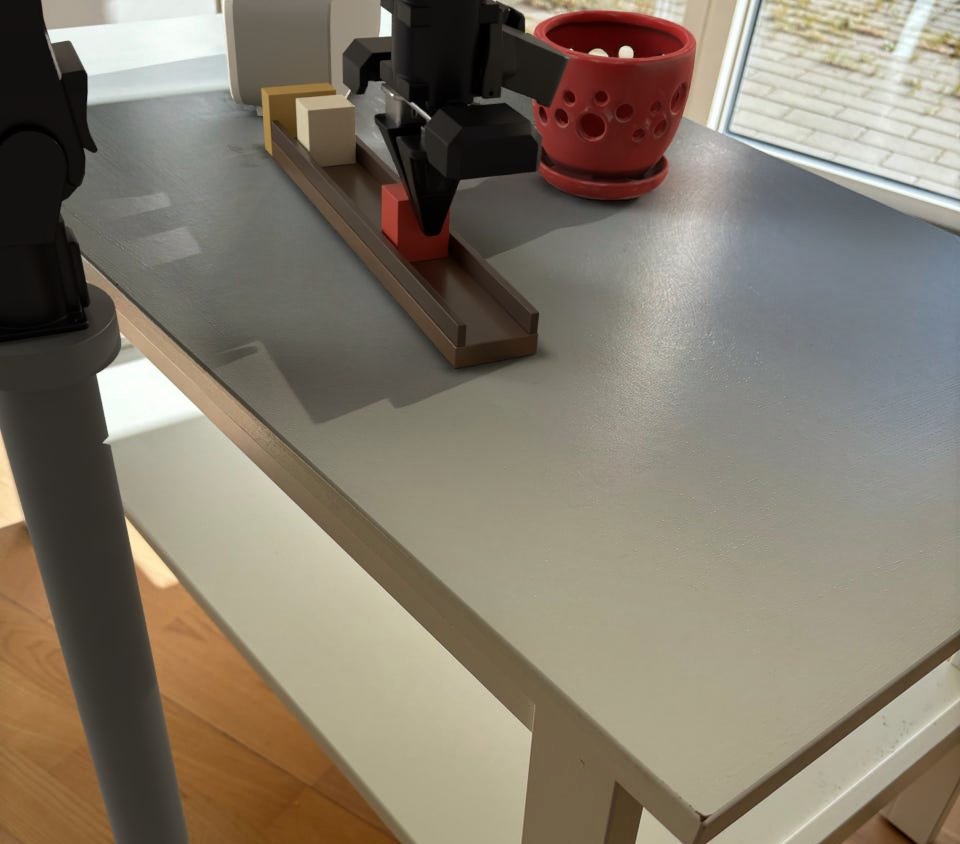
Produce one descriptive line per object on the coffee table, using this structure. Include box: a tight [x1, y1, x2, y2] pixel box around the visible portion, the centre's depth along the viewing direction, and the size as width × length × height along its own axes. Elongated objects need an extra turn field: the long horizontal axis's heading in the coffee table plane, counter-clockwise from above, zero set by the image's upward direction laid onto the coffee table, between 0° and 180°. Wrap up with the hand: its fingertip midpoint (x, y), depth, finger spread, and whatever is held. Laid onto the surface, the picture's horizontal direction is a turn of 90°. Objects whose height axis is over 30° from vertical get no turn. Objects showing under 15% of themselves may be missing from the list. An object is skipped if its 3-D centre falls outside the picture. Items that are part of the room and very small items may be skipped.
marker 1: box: [296, 95, 356, 167], centre depth 89 cm, size 4×3×4 cm
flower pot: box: [531, 9, 697, 201], centre depth 91 cm, size 13×13×12 cm
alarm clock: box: [222, 0, 382, 117], centre depth 105 cm, size 27×9×12 cm, turn 174°
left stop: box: [261, 83, 336, 158], centre depth 94 cm, size 6×2×5 cm, turn 116°
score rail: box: [271, 120, 540, 369], centre depth 82 cm, size 6×38×3 cm, turn 26°
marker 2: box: [382, 183, 451, 262], centre depth 77 cm, size 4×3×4 cm
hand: (430, 234), depth 75 cm, fingers closed
